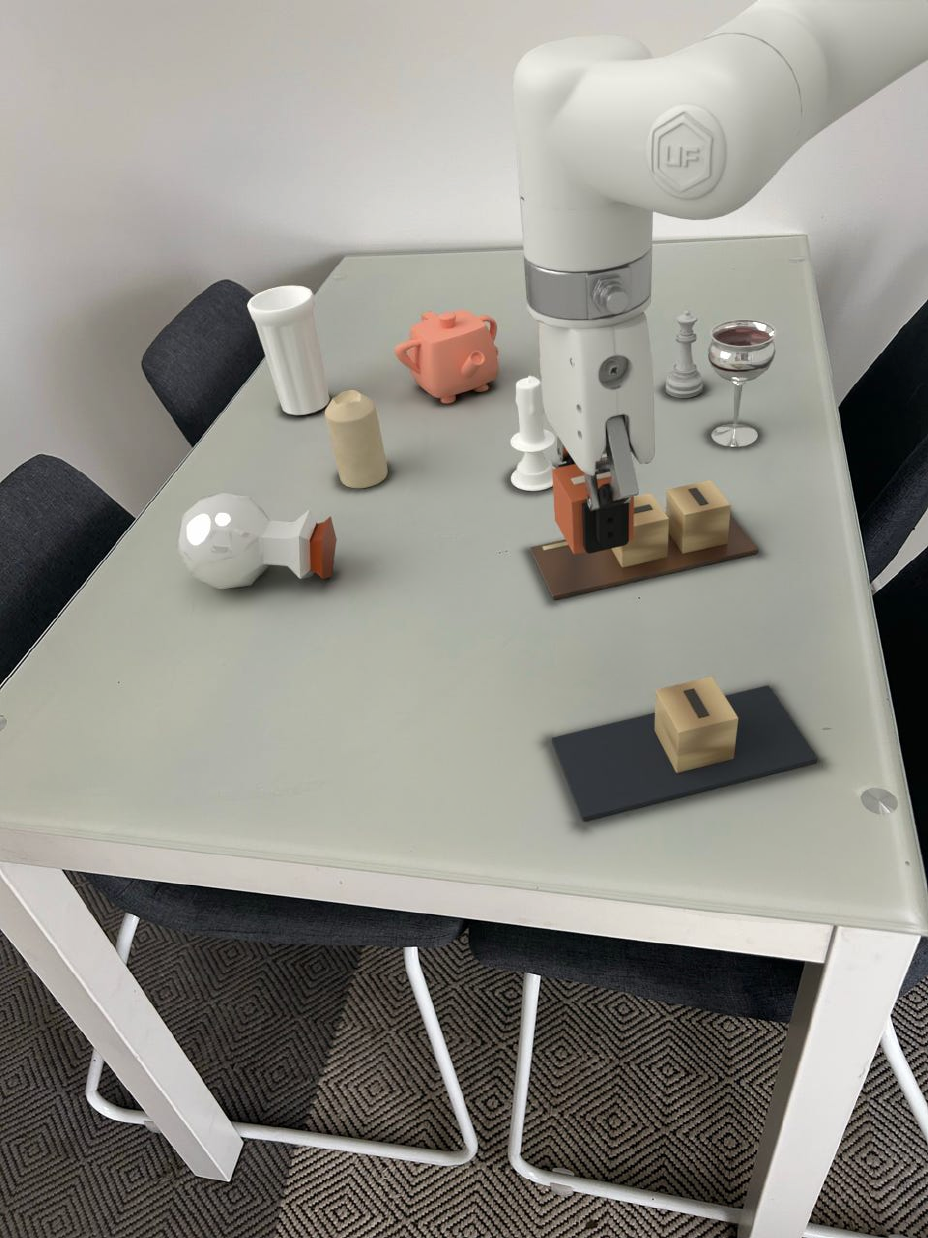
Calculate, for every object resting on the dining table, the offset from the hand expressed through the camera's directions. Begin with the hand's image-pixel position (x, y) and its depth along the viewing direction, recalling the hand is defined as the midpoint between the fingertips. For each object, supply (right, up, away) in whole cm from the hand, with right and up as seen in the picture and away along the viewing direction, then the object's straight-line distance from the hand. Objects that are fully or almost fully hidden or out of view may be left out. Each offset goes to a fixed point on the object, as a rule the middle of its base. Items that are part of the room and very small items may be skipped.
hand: (593, 524), depth 68 cm
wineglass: (+21, +13, +36) cm, 44 cm away
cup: (-30, +21, +53) cm, 64 cm away
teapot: (-11, +22, +52) cm, 58 cm away
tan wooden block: (+13, +1, +22) cm, 26 cm away
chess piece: (+17, +21, +45) cm, 53 cm away
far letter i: (+7, 0, +22) cm, 23 cm away
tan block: (+8, -16, +3) cm, 18 cm away
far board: (+8, 0, +22) cm, 23 cm away
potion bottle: (-29, -3, +26) cm, 39 cm away
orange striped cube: (0, 0, 0) cm, 0 cm away
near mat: (+7, -17, +3) cm, 19 cm away
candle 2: (-2, +8, +34) cm, 35 cm away
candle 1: (-21, +9, +39) cm, 45 cm away
